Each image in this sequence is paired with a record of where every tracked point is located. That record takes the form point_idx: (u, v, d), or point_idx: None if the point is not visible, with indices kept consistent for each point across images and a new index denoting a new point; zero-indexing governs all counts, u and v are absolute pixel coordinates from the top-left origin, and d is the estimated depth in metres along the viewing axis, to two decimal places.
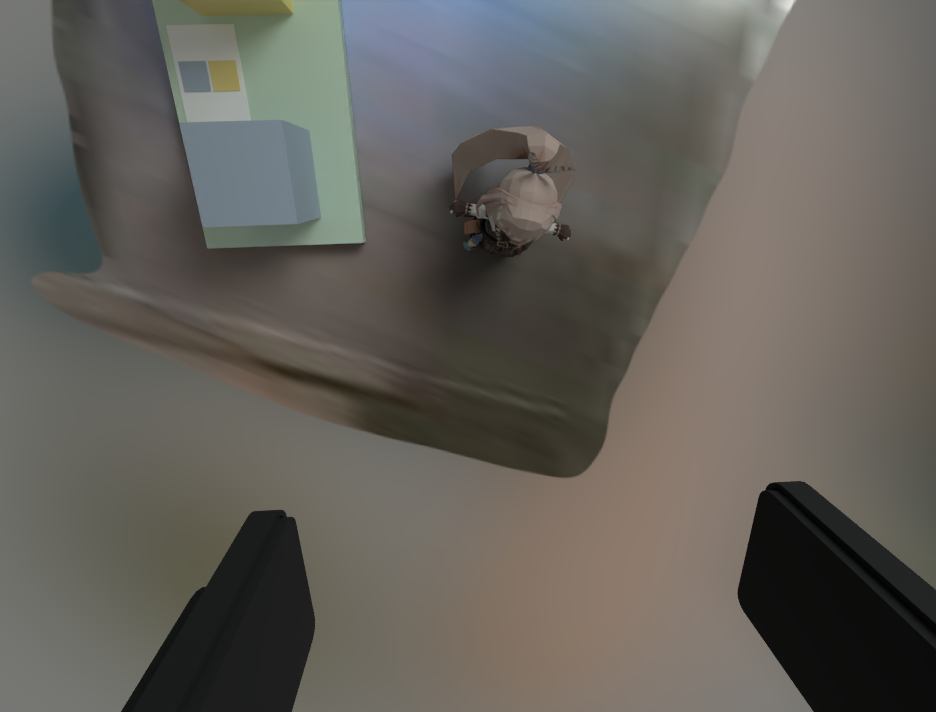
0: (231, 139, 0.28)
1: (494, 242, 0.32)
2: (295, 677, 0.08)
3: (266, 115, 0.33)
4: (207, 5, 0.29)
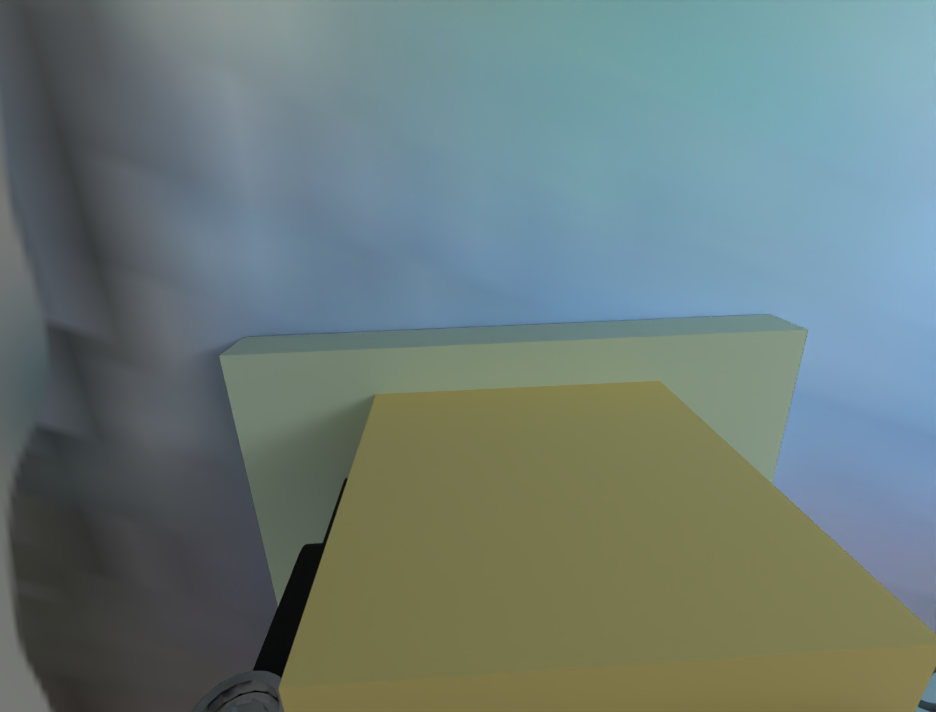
0: None
1: None
2: None
3: None
4: None
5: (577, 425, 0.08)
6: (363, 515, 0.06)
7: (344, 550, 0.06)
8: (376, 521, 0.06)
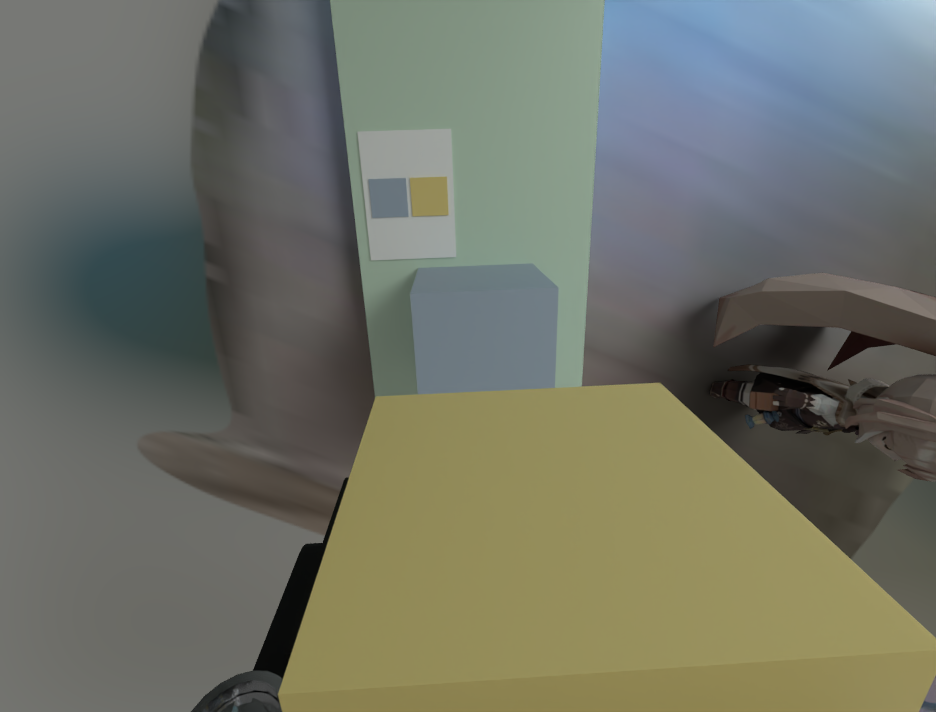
0: (480, 314, 0.19)
1: (804, 427, 0.23)
2: None
3: (477, 245, 0.24)
4: None
5: (577, 428, 0.08)
6: (363, 519, 0.06)
7: (344, 554, 0.05)
8: (376, 526, 0.06)
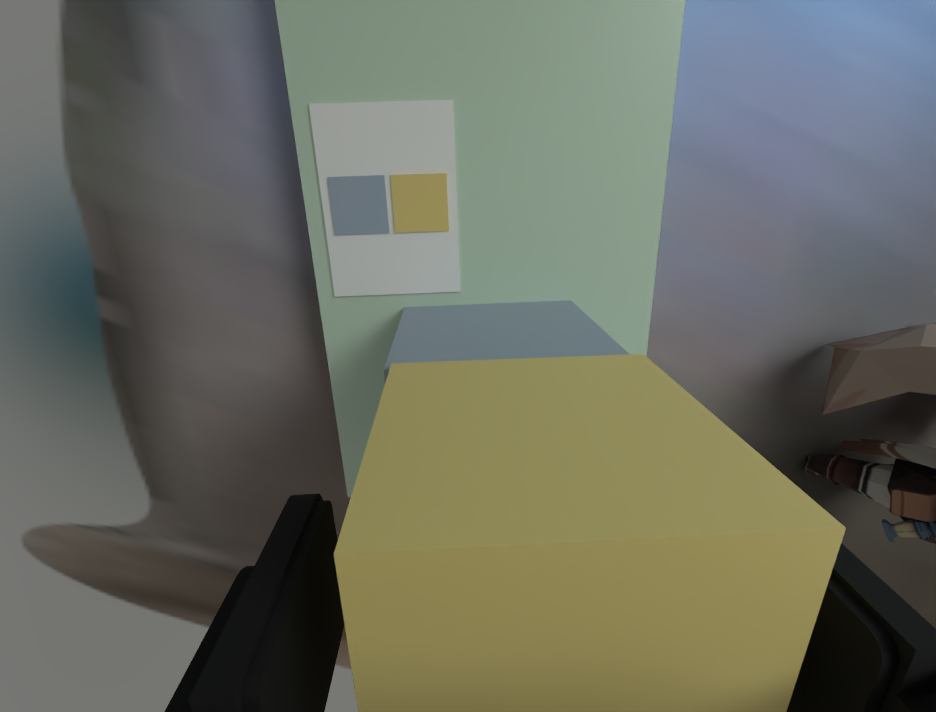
0: None
1: None
2: (333, 652, 0.09)
3: (491, 275, 0.16)
4: None
5: (568, 386, 0.09)
6: (388, 448, 0.07)
7: (375, 471, 0.07)
8: (400, 452, 0.07)
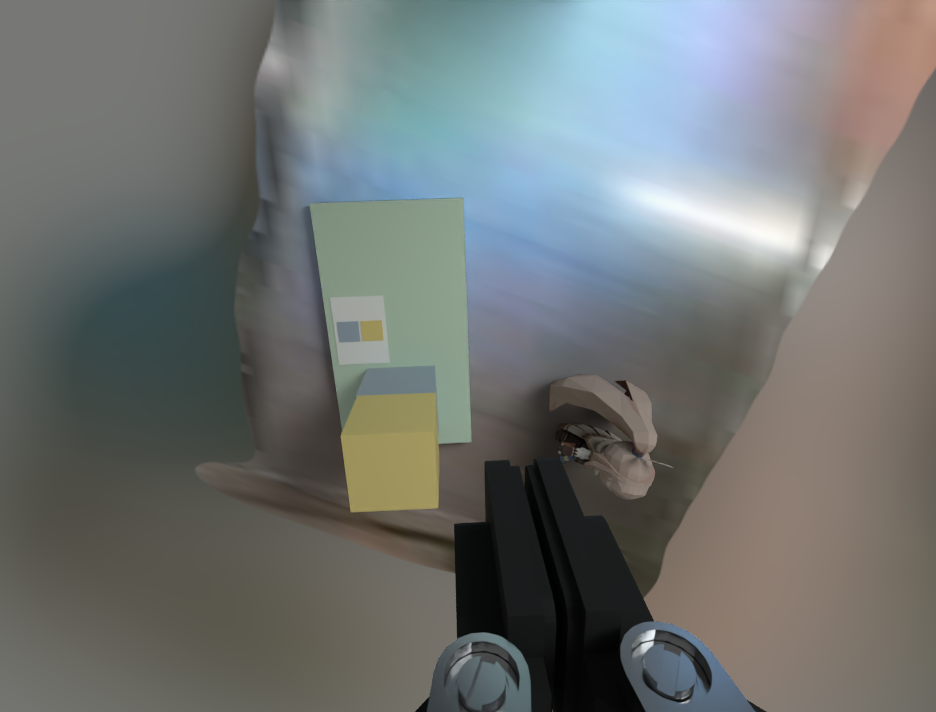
0: None
1: None
2: None
3: (401, 356, 0.41)
4: None
5: (405, 403, 0.34)
6: (352, 419, 0.32)
7: (349, 423, 0.31)
8: (355, 419, 0.32)
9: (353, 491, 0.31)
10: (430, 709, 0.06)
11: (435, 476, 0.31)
